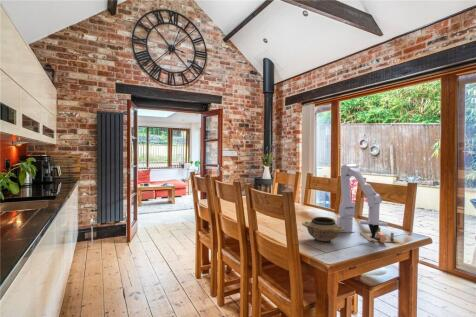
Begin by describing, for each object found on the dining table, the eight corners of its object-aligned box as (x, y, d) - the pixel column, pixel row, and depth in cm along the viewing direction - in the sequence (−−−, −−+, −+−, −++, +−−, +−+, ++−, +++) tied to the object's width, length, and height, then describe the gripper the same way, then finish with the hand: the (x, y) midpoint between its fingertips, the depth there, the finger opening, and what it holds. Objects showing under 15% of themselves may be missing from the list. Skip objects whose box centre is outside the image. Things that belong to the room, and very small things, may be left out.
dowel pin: (391, 240, 163) (391, 233, 163) (389, 239, 164) (390, 232, 164) (394, 240, 163) (394, 233, 162) (392, 239, 164) (392, 232, 164)
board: (369, 241, 161) (369, 230, 160) (359, 233, 176) (360, 223, 175) (397, 242, 160) (398, 231, 159) (385, 234, 175) (386, 224, 174)
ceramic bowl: (298, 244, 163) (296, 221, 159) (309, 230, 176) (307, 208, 173) (340, 254, 148) (339, 229, 145) (349, 238, 162) (348, 214, 158)
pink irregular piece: (368, 234, 173) (368, 227, 173) (384, 235, 171) (384, 228, 171) (374, 241, 158) (374, 234, 158) (391, 243, 156) (391, 235, 156)
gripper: (361, 214, 161) (360, 237, 161) (388, 217, 156) (388, 240, 157) (359, 212, 168) (359, 234, 168) (386, 214, 163) (385, 237, 163)
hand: (373, 237), depth 163 cm, fingers closed
